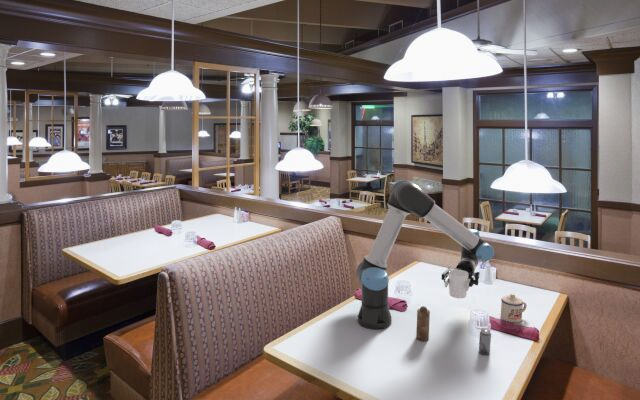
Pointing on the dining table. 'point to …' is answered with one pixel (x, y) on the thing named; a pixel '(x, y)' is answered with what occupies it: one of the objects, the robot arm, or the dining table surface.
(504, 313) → the teacup with lid
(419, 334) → the pepper mill
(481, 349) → the salt shaker
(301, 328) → the dining table surface
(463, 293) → the white cup
